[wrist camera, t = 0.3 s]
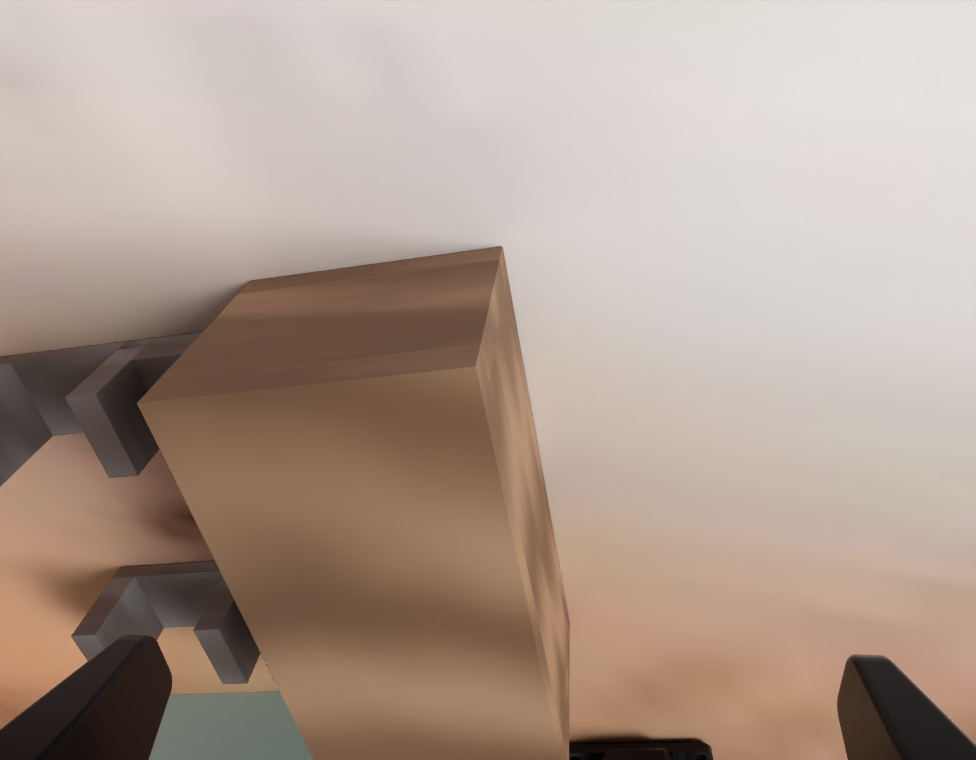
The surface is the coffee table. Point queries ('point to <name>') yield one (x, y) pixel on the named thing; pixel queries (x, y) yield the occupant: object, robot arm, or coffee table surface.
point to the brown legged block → (339, 503)
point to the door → (229, 728)
